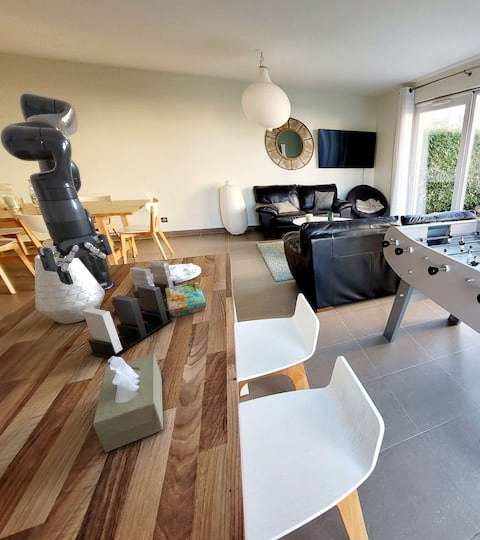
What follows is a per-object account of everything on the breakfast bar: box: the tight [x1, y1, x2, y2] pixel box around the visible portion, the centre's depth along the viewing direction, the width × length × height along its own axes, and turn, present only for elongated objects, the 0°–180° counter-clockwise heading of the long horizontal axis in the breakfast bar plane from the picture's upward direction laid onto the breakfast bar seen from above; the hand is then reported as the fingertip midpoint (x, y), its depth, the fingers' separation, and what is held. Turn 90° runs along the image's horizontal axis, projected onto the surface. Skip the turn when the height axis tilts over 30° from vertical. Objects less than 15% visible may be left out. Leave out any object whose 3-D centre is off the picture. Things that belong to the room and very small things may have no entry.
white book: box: [82, 308, 122, 353], centre depth 82 cm, size 2×7×13 cm, turn 76°
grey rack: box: [87, 284, 174, 360], centre depth 89 cm, size 21×8×14 cm, turn 166°
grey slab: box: [111, 259, 177, 315], centre depth 109 cm, size 21×8×14 cm, turn 166°
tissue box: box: [92, 353, 164, 453], centre depth 64 cm, size 19×10×16 cm, turn 33°
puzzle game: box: [165, 281, 207, 318], centre depth 111 cm, size 12×5×20 cm
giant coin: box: [151, 262, 202, 285], centre depth 134 cm, size 20×20×3 cm
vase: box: [34, 250, 106, 325], centre depth 97 cm, size 18×17×23 cm
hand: (87, 277), depth 76 cm, fingers open, 8 cm apart
